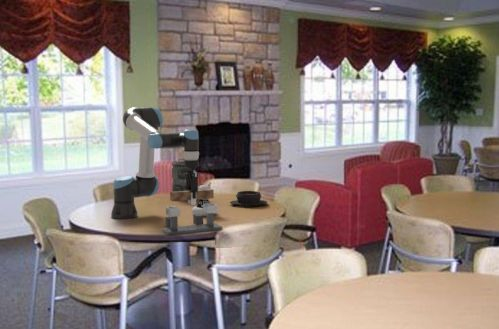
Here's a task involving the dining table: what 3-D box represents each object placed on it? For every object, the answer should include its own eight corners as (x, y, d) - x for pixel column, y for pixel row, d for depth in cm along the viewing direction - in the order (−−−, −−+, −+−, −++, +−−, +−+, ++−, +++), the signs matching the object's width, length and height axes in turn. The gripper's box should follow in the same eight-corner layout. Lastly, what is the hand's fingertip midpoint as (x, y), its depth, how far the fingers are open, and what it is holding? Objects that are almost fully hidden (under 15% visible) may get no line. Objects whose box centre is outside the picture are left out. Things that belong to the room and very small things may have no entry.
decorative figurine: (193, 217, 315) (193, 183, 313) (190, 212, 329) (190, 180, 327) (218, 216, 319) (218, 183, 316) (214, 211, 333) (214, 179, 330)
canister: (168, 199, 373) (168, 159, 370) (178, 195, 388) (177, 157, 385) (189, 200, 369) (189, 160, 366) (198, 197, 384) (198, 158, 381)
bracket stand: (167, 235, 272) (167, 210, 271) (161, 231, 281) (161, 206, 280) (222, 229, 285) (222, 205, 283) (215, 225, 294) (215, 202, 292)
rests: (168, 228, 288) (168, 218, 288) (165, 226, 293) (165, 217, 292) (203, 224, 297) (203, 215, 296) (200, 222, 301) (200, 213, 301)
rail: (172, 201, 275) (172, 192, 274) (170, 200, 278) (170, 191, 278) (213, 198, 284) (213, 189, 284) (210, 197, 288) (210, 188, 287)
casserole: (265, 202, 364) (265, 190, 363) (269, 207, 346) (269, 194, 345) (228, 202, 362) (228, 190, 361) (230, 208, 343) (230, 195, 343)
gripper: (204, 160, 273) (204, 205, 275) (193, 157, 288) (193, 200, 291) (190, 161, 270) (190, 207, 272) (179, 158, 285) (180, 201, 287)
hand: (192, 203), depth 281 cm, fingers closed on rail, 4 cm apart
